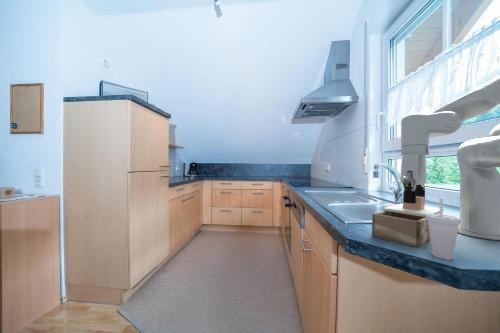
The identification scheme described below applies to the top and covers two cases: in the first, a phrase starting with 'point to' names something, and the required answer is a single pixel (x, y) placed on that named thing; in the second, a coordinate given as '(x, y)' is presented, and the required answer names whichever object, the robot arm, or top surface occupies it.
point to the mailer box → (401, 228)
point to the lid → (413, 208)
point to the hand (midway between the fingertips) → (414, 201)
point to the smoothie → (443, 233)
